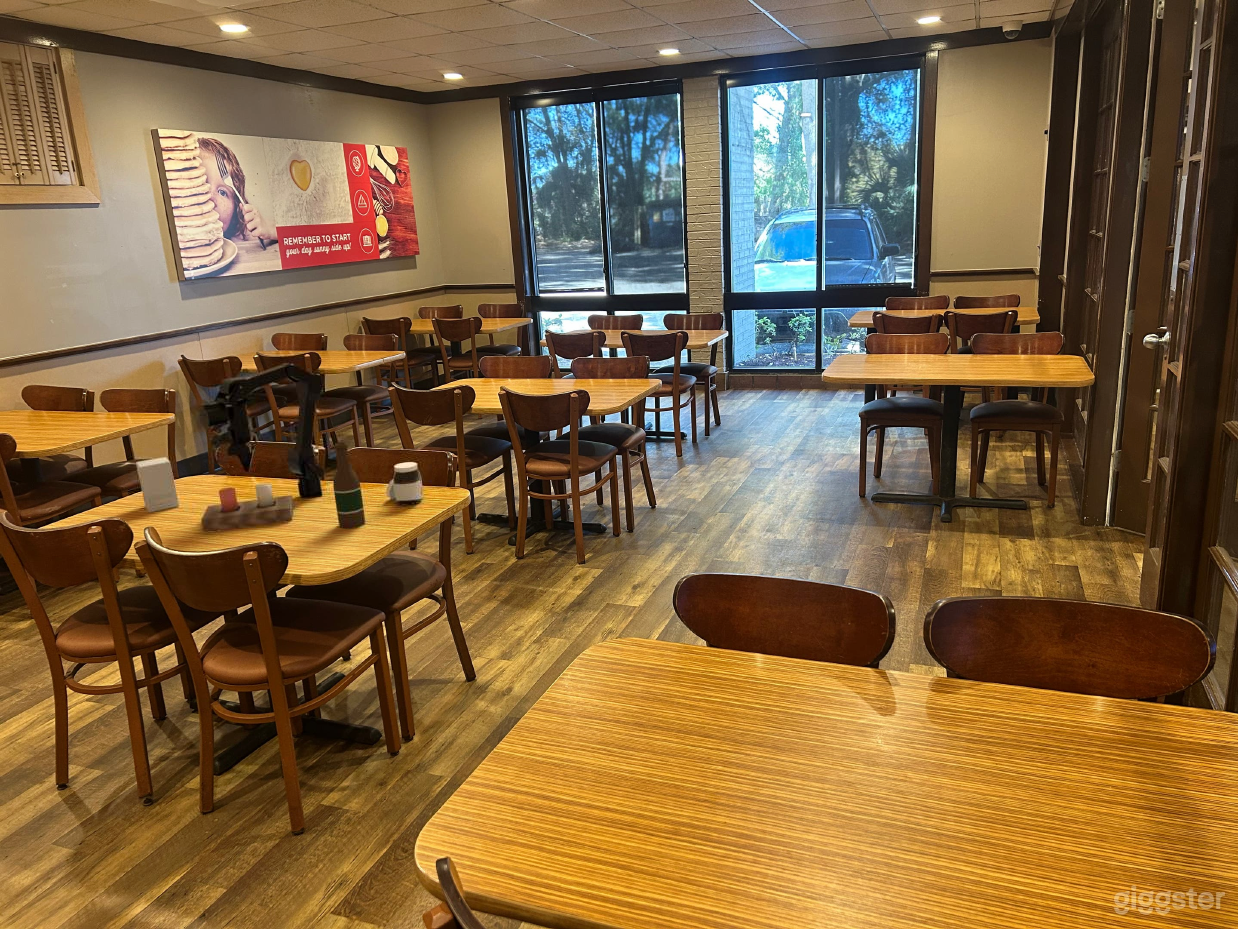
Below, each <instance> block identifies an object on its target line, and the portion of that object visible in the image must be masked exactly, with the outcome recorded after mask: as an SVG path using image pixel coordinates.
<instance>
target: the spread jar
mask: <svg viewBox="0 0 1238 929" xmlns="http://www.w3.org/2000/svg"><path fill="white" fill-rule="evenodd" d="M393 467H394V475H393V479H391V480H390V482H389V483H388V485H387V487H386V489H385V490H386V491H385V495H386V496H387V498H389V499H391V500H395V501H396V503H397V504H399V505H402V504H411V505H414V504H413V503H416V504H418V502H419V503H421V501H422V500H423V496H424V495H423V494H424V491H423V484H422V483H423V482H422V481H423V480H422V476H421V472H420V471H419V469H418V463H416V462H414V461H413V462H412V461H411V462H410V461H408V462H402V463H397V464H395V465H394V466H393ZM395 498H396V499H395Z"/></svg>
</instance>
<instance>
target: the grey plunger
mask: <svg viewBox="0 0 1238 929" xmlns="http://www.w3.org/2000/svg"><path fill="white" fill-rule="evenodd" d="M254 487H255V494H256V498H257V499H256V500H257V501H258V506H259V507H267V506H271V505H273V504H274V500H273V498H274V495H273V494H274V493H273V490H272V489H273V487H272V483H268V482H266V483H265V482H264V483H259V484H257V485H255V486H254Z"/></svg>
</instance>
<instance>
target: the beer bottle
mask: <svg viewBox="0 0 1238 929" xmlns="http://www.w3.org/2000/svg"><path fill="white" fill-rule="evenodd" d="M348 448H349V445H348V443H347V442H345V441H344V442H337V443H334V449H335V452H336V453H335V454H336V466H337V467H336V473H335V475H334V477H333V482H332V485H333V494H334V502H335V508H336V514H337V520H338V525H339V528H341V529H347V528H349V529H354V528H359V527H361V526H363V525H365V524H366V519H365V518H366V517H365V516H366V515H365V509H364V503H363V495H362V487H361V483H360V479H359V477H358V476H357V474H356V472H355V471H354V470H353V468H352V466H351V461H350V455H349V451H348Z"/></svg>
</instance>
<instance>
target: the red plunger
mask: <svg viewBox="0 0 1238 929" xmlns="http://www.w3.org/2000/svg"><path fill="white" fill-rule="evenodd" d="M218 494H219V501H220V505H221V507H222V511H223V512H229V511H234V510H237V509H238V504H237V502H238V499H237V498H238V497H237V494H236V488H235V487H226V488H222V489H219V490H218Z"/></svg>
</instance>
